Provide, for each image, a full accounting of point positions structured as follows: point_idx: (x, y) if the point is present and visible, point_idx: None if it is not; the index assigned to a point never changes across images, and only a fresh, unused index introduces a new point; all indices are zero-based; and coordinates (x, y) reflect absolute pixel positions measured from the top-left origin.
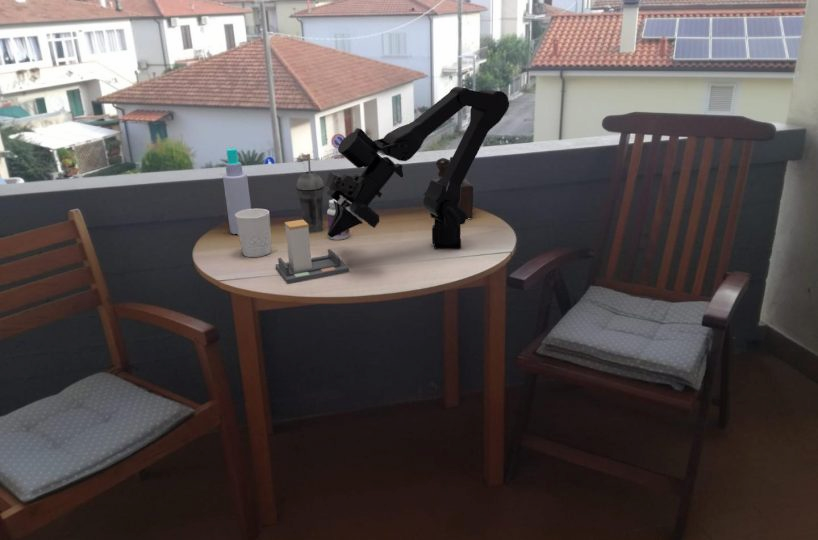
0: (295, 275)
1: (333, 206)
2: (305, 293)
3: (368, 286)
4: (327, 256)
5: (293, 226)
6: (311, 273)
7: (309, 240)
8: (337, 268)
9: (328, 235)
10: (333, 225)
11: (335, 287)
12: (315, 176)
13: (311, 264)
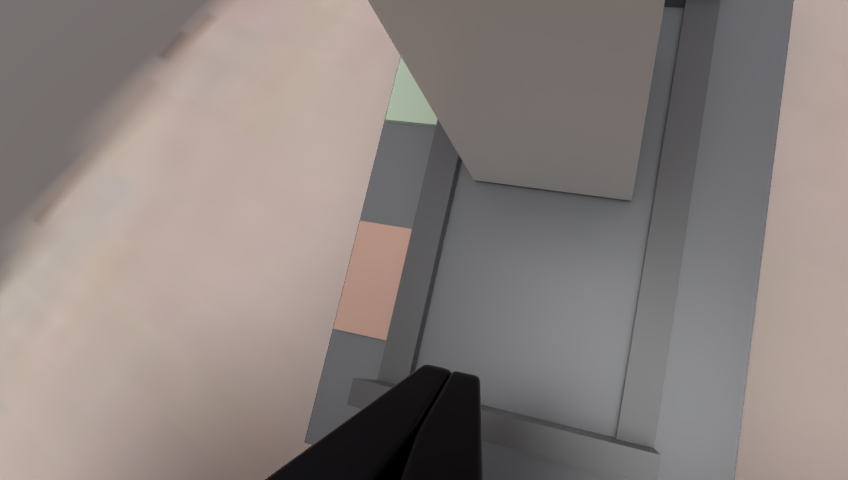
0: None
1: None
2: (236, 33)
3: (53, 385)
4: (649, 435)
5: None
6: (404, 144)
7: (397, 48)
8: (355, 356)
9: (433, 367)
10: (346, 474)
11: (182, 211)
12: None
13: (464, 164)
